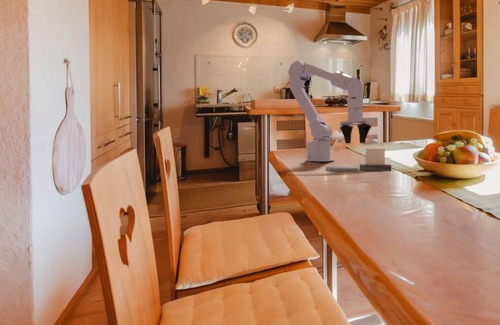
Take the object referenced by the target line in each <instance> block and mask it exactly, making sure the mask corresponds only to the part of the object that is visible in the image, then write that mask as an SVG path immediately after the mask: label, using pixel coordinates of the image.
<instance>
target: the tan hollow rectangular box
mask: <svg viewBox="0 0 500 325" xmlns="http://www.w3.org/2000/svg"><path fill="white" fill-rule="evenodd" d="M359 170H361V171H365V172H367V171H371V172H373V171H374V172H375V171H378V172H379V171H392V165H391V164H389V163H385V165H366V163H360V164H359Z"/></svg>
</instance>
